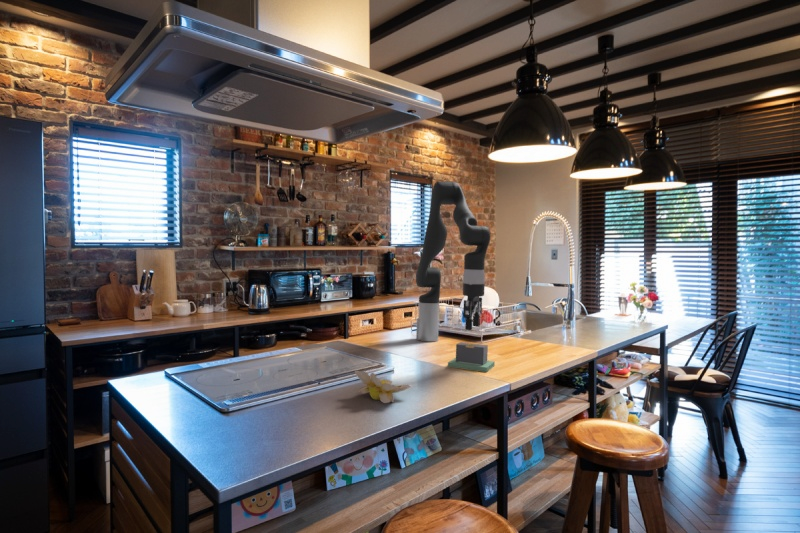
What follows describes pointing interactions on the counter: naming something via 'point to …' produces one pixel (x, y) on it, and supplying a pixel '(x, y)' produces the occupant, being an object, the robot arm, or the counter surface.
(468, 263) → the robot arm
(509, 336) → the counter surface
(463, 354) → the plug housing
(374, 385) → the decorative flower
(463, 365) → the pin board
